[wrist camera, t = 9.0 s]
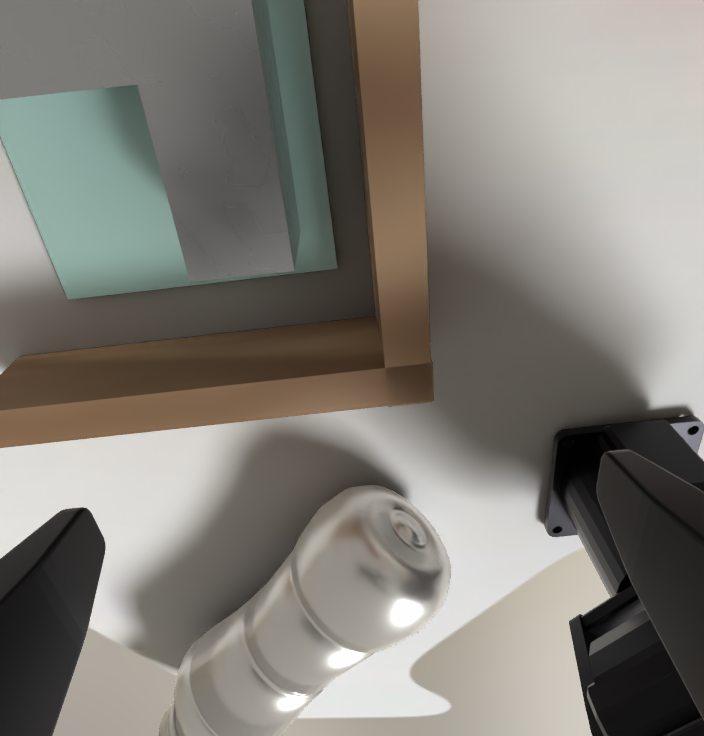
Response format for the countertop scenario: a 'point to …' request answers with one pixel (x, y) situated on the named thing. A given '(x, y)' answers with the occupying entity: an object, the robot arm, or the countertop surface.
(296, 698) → the plastic bottle
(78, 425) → the wooden corner wall
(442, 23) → the countertop surface
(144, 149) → the pad
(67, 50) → the bracket
